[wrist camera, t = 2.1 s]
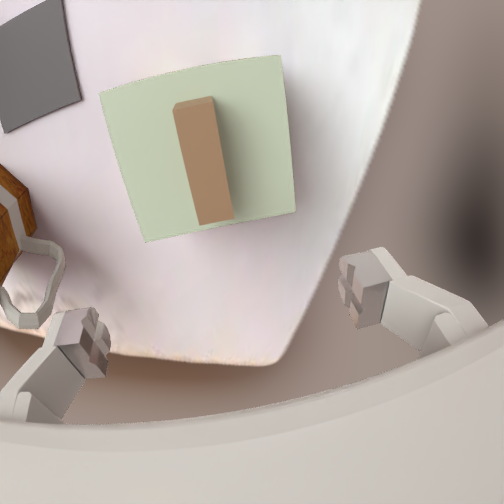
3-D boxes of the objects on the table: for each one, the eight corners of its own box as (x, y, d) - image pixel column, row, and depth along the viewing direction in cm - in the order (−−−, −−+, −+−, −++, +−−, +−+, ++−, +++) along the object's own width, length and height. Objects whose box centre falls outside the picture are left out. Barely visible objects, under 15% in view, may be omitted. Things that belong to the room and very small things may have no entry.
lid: (271, 54, 21) (293, 55, 16) (286, 196, 28) (307, 231, 23) (110, 88, 20) (84, 99, 15) (149, 224, 27) (140, 265, 22)
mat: (61, -6, 17) (59, -7, 17) (81, 99, 25) (80, 99, 24) (-16, 37, 17) (-18, 37, 17) (6, 132, 24) (4, 133, 24)
